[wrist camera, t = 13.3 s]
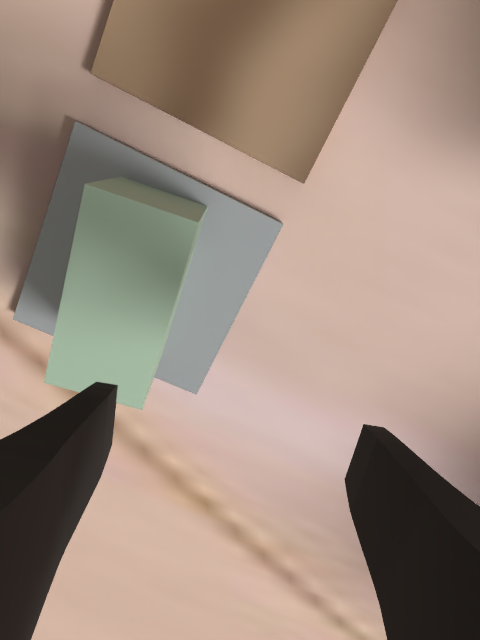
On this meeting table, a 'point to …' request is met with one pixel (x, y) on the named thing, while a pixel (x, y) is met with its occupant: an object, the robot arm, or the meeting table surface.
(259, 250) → the grey mat
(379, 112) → the meeting table surface
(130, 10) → the walnut board
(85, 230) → the sage brick
